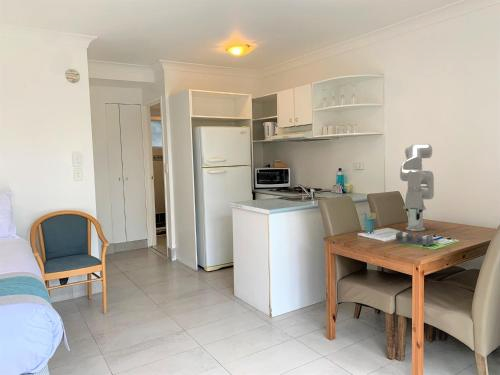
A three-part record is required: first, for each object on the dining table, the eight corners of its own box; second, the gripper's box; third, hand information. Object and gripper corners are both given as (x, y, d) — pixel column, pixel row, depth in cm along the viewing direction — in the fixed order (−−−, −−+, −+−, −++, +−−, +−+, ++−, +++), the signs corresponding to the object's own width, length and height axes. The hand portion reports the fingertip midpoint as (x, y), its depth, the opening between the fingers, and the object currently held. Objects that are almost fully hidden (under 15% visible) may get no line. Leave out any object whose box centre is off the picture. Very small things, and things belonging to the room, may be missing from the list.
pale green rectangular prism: (413, 223, 246) (413, 207, 245) (418, 223, 244) (418, 207, 243) (409, 225, 240) (409, 209, 239) (415, 225, 237) (415, 209, 237)
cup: (365, 234, 269) (365, 213, 268) (357, 233, 276) (357, 212, 275) (379, 232, 276) (379, 211, 275) (371, 230, 283) (370, 210, 282)
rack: (400, 238, 254) (400, 230, 254) (433, 241, 242) (433, 233, 241) (394, 242, 244) (394, 233, 243) (428, 246, 232) (428, 237, 231)
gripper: (430, 190, 238) (429, 219, 239) (402, 189, 248) (402, 217, 250) (426, 191, 232) (426, 221, 233) (398, 190, 242) (398, 219, 244)
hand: (414, 219), depth 241 cm, fingers closed on pale green rectangular prism, 3 cm apart
